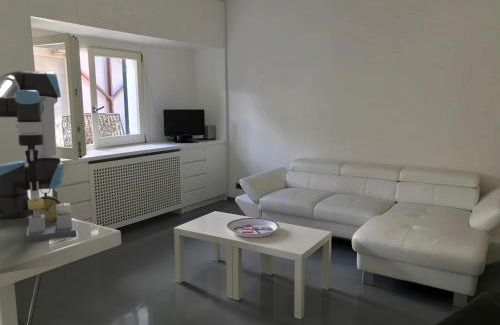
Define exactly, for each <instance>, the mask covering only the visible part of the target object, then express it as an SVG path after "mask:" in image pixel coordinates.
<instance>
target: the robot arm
mask: <svg viewBox="0 0 500 325" xmlns="http://www.w3.org/2000/svg"><path fill="white" fill-rule="evenodd" d="M60 90H61V88H60V84H59V80H58V76H57V74H56V73H55V72H51V71H33V70H30V71H29V70H27V71H26V70H25V71H24V70H16V71H15V70H14V71H12V72H8V73H5V74H3V75H1V76H0V118H16V119H17V120H16V121H17V124H16V125H15V128H16V129H17V132H18V145H19V146H20V147H21V146H22V147H23V146H24V147H27V150H25V151H24V153H25V157H26V161H25V160H16V161H10V162H5V163H0V219H1V220H6V219H17V218H23V217H29V216H31V215H32V213H31V210H29V209H28V200H30V199H31V200H35V199H40V190H49V188H50V190H52V189H59V188H60V187H62V186H63V182H64V175H65V164H64V162H63V161H61V158H60V156H57V138H56V118H55V114H56V113H55V104H57V103H58V99H60V98H61V97H62V96H61V95H62V94H61V91H60ZM43 186H45V187H43ZM46 186H48V187H49V188H48V187H46ZM42 187H43V188H42ZM41 188H42V189H41ZM29 191H30V192H29ZM29 193H30V197H29Z"/></svg>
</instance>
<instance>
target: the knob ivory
mask: <svg viewBox="0 0 500 325" xmlns="http://www.w3.org/2000/svg"><path fill="white" fill-rule="evenodd" d="M71 205H72V204H71V203H68V202H65V203H64V202H63V203H61V204H57V205H56V214H61V215H65V214H67V213H70V212H71V213H72V208H71V207H72V206H71Z"/></svg>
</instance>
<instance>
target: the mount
mask: <svg viewBox="0 0 500 325" xmlns="http://www.w3.org/2000/svg"><path fill="white" fill-rule="evenodd" d="M56 218H57V221H56V222H55V223H51V224H45V217H44V214H42V215H40V217H38V218H34V216H32V215H28V226H27V228H26V236H25V238H26V241H25V242H26V243H30V242H31V243H32V242H38V241H44V240H45V241H46V240H51V239H61V238H66V237H74V236H75V237H76V236H77V228H76V225H75V221H74V220H73V218H72V211H71V212H70V213H67V214H65V215H61V214H56Z"/></svg>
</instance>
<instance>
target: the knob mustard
mask: <svg viewBox="0 0 500 325" xmlns="http://www.w3.org/2000/svg"><path fill="white" fill-rule="evenodd" d="M29 199H30V200H28V209H29V210H33V216H34V218H38V217H40V213H39V209H42V208H44V204H43V199H35V200H31V198H29Z"/></svg>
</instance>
